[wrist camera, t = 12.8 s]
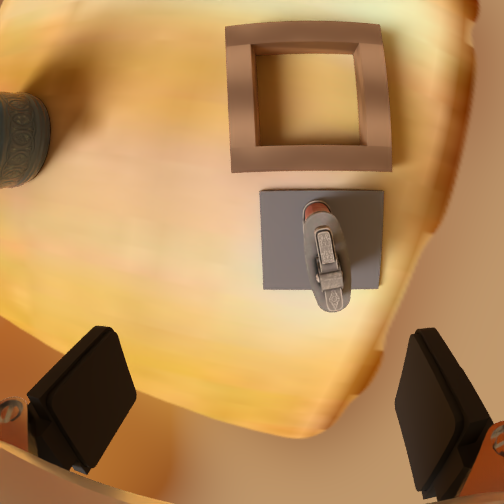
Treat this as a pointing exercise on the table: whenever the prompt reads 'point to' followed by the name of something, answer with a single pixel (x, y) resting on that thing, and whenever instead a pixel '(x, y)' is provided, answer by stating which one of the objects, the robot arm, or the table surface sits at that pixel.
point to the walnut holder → (300, 42)
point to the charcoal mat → (292, 237)
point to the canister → (22, 138)
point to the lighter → (326, 257)
